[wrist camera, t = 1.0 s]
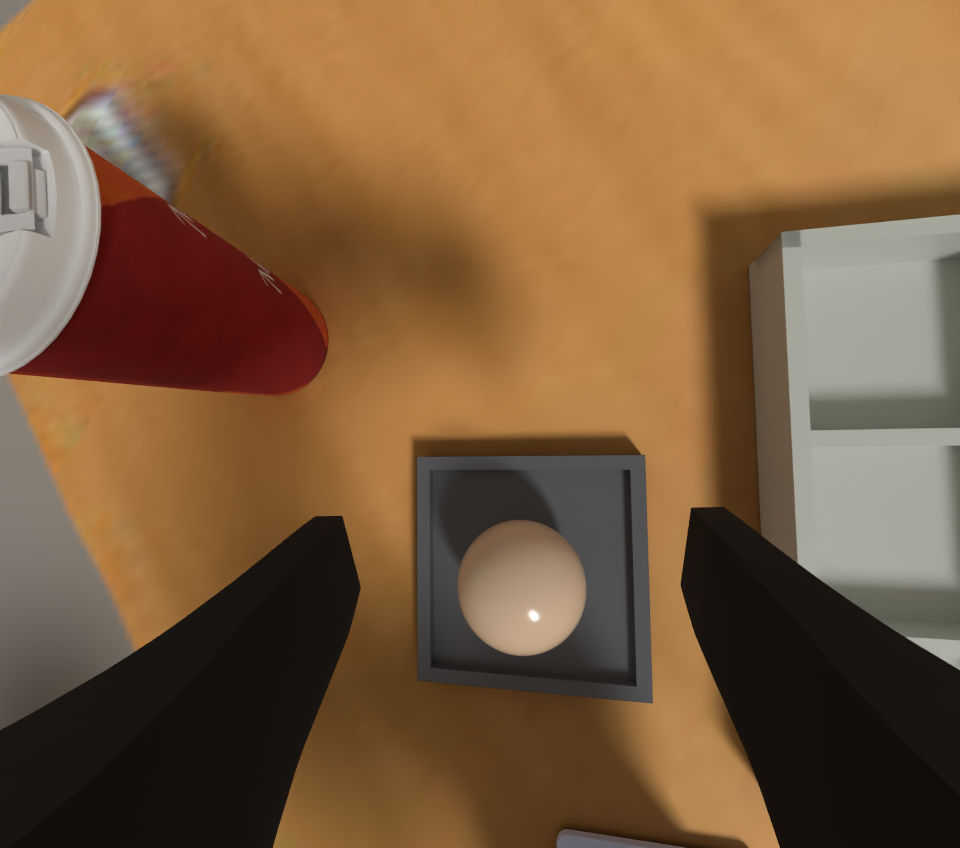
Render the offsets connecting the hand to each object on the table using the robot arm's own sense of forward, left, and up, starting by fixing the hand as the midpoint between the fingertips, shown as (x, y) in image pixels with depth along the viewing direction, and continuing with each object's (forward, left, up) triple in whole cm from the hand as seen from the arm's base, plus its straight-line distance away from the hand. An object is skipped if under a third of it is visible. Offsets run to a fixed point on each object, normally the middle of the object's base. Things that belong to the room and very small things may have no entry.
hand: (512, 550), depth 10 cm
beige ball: (-3, +1, -11) cm, 12 cm away
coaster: (-3, +1, -12) cm, 12 cm away
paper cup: (+8, +14, -12) cm, 20 cm away
